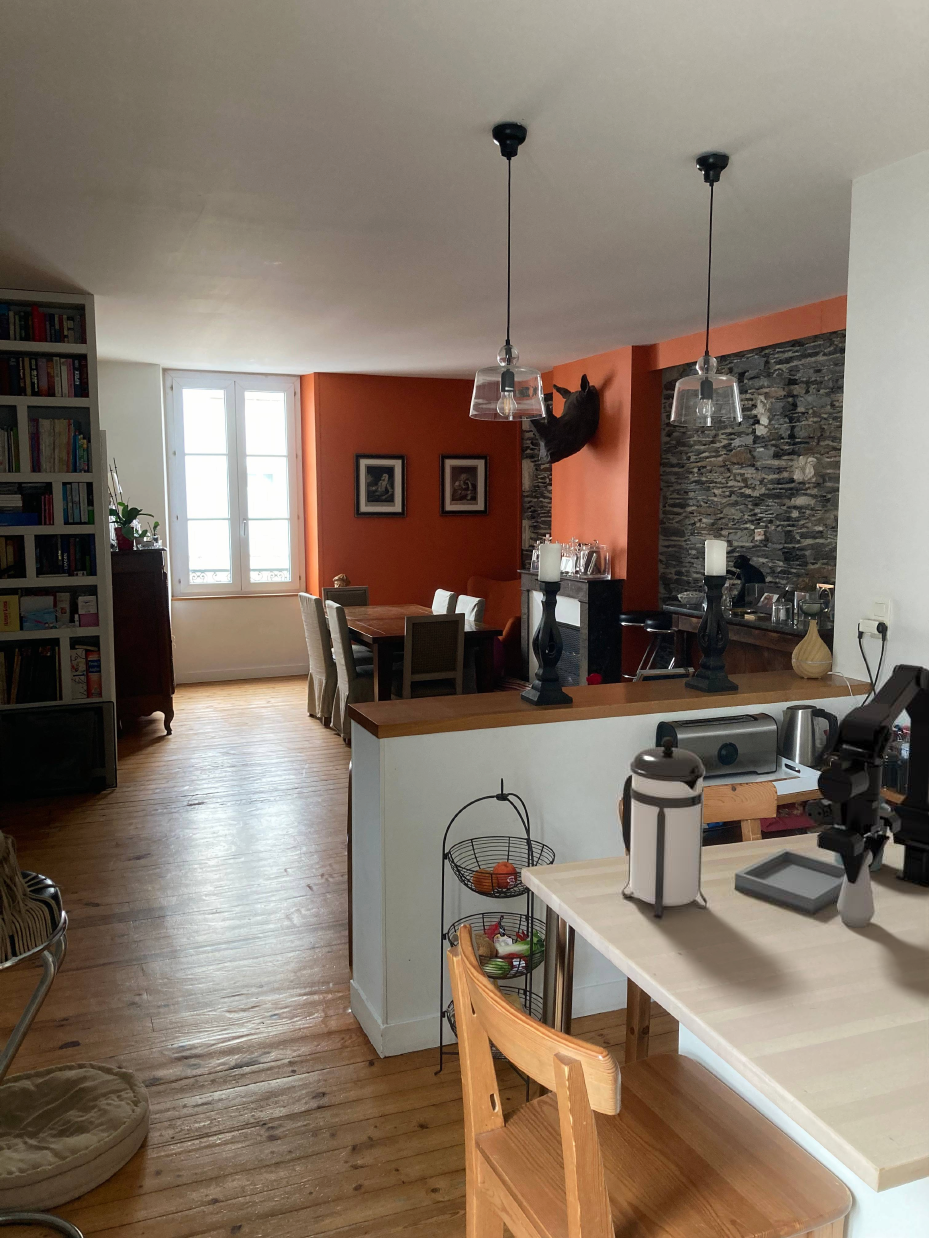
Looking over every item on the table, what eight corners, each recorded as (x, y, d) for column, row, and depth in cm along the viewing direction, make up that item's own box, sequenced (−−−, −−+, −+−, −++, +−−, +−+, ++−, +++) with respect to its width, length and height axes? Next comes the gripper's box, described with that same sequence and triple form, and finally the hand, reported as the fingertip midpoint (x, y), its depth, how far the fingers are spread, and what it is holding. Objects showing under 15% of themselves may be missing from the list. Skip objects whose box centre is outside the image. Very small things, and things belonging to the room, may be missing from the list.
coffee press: (714, 890, 167) (720, 730, 163) (698, 926, 153) (703, 752, 149) (622, 874, 174) (625, 721, 171) (598, 907, 160) (600, 741, 156)
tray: (783, 863, 180) (784, 848, 179) (859, 886, 169) (860, 870, 168) (734, 888, 168) (735, 873, 167) (812, 915, 157) (813, 899, 156)
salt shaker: (877, 931, 151) (881, 856, 149) (840, 928, 152) (844, 853, 150) (868, 915, 157) (873, 843, 155) (833, 913, 158) (837, 840, 156)
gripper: (840, 768, 164) (836, 852, 166) (788, 790, 151) (784, 880, 153) (904, 782, 155) (899, 870, 157) (855, 806, 143) (850, 901, 145)
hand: (857, 879), depth 153 cm, fingers closed on salt shaker, 4 cm apart
